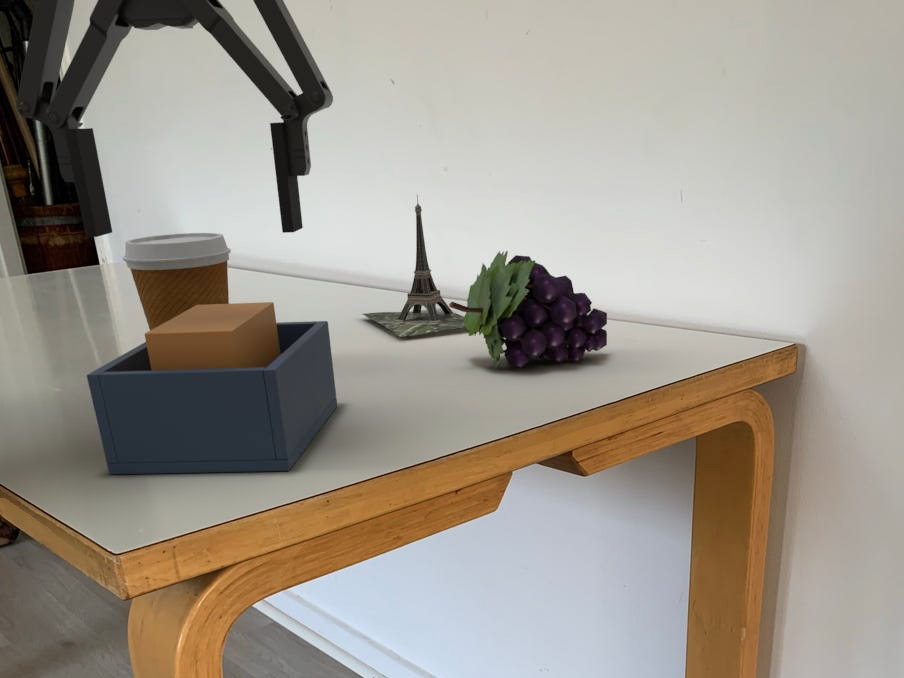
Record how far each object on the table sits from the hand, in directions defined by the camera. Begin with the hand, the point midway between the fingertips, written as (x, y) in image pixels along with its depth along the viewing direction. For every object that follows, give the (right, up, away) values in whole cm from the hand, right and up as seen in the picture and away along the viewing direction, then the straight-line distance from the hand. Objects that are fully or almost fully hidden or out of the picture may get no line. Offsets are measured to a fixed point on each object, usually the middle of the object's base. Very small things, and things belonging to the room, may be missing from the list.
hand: (195, 233), depth 68 cm
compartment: (+1, -13, +7) cm, 14 cm away
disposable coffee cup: (-7, -2, +27) cm, 28 cm away
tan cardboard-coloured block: (+1, -12, +6) cm, 14 cm away
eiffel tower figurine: (+13, +8, +44) cm, 46 cm away
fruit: (+24, -2, +24) cm, 35 cm away
